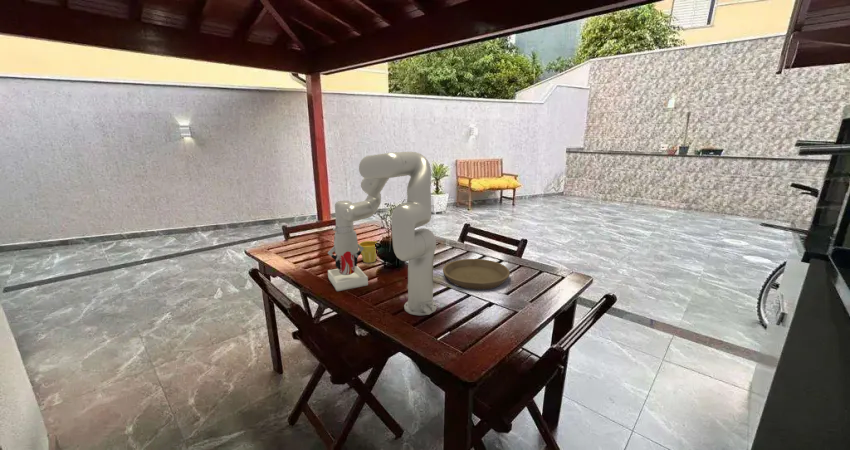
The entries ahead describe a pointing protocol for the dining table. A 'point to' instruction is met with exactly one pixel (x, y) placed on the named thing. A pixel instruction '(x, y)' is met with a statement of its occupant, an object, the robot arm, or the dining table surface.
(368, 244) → the plant pot
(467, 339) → the dining table surface
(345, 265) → the soda can
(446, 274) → the plant saucer
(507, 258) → the dining table surface
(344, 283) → the tray
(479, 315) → the dining table surface
